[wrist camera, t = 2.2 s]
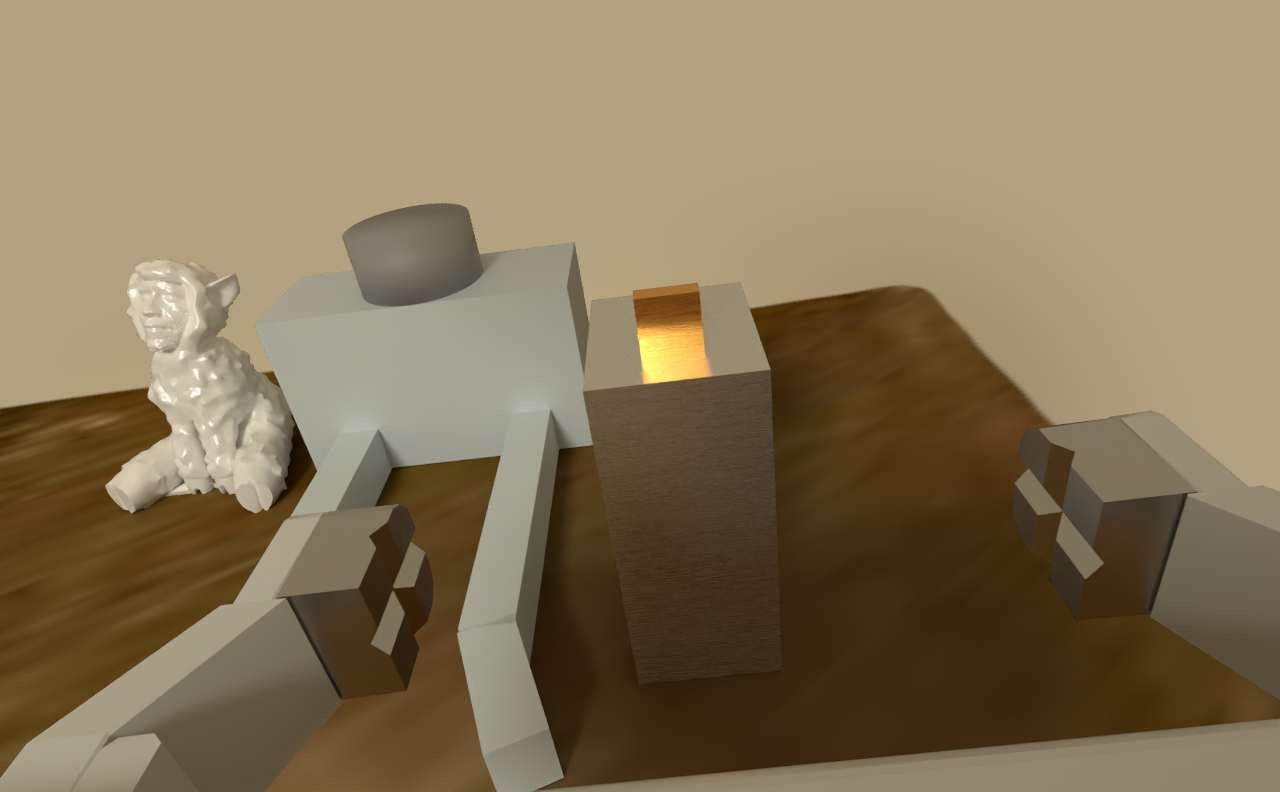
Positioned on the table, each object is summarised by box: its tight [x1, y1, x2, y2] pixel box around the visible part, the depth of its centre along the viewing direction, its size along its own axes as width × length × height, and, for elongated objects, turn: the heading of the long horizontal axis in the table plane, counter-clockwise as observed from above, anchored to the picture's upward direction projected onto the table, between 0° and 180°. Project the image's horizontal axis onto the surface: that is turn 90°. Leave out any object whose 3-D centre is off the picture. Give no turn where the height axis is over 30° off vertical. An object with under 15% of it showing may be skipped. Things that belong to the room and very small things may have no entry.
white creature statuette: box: [106, 260, 295, 513], centre depth 38 cm, size 10×9×12 cm
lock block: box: [583, 282, 782, 684], centre depth 25 cm, size 5×6×14 cm
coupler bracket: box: [254, 203, 593, 792], centre depth 31 cm, size 15×25×12 cm, turn 1°
